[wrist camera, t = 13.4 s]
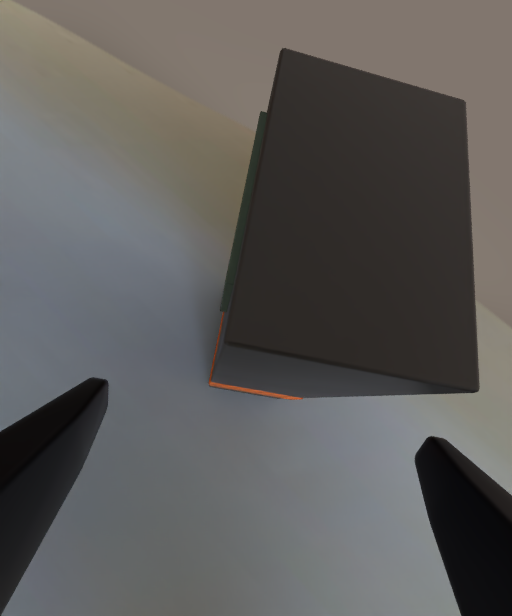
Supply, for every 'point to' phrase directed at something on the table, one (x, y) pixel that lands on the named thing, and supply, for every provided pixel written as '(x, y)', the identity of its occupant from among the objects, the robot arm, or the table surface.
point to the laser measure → (351, 243)
